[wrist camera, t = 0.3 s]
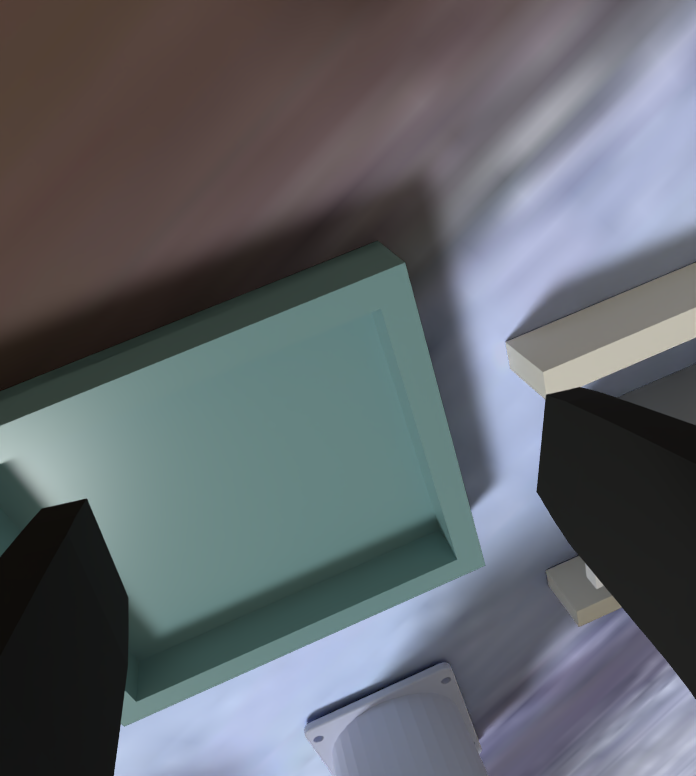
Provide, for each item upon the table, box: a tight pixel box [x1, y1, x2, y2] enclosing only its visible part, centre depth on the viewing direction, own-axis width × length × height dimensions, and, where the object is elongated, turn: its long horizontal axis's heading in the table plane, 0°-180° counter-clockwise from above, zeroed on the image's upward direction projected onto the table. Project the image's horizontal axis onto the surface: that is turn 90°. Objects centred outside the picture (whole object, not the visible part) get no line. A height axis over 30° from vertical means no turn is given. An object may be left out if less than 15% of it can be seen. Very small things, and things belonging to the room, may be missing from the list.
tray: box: [0, 241, 485, 727], centre depth 19 cm, size 13×15×2 cm
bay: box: [505, 262, 696, 627], centre depth 23 cm, size 14×11×2 cm
